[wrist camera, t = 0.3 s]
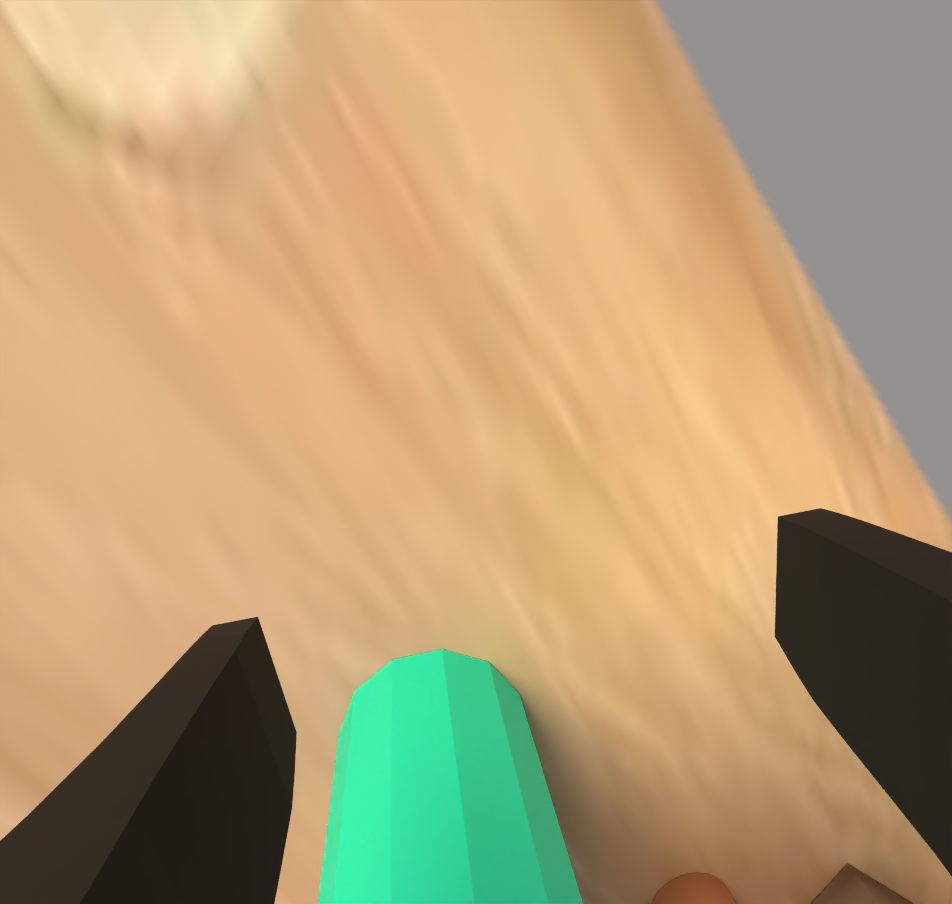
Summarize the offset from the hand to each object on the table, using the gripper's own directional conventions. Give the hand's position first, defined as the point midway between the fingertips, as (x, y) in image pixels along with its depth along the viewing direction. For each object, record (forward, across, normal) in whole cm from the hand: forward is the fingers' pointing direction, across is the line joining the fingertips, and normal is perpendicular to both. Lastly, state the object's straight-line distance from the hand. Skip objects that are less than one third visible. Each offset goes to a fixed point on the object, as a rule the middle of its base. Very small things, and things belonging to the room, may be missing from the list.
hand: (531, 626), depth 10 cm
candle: (+9, +3, +11) cm, 14 cm away
